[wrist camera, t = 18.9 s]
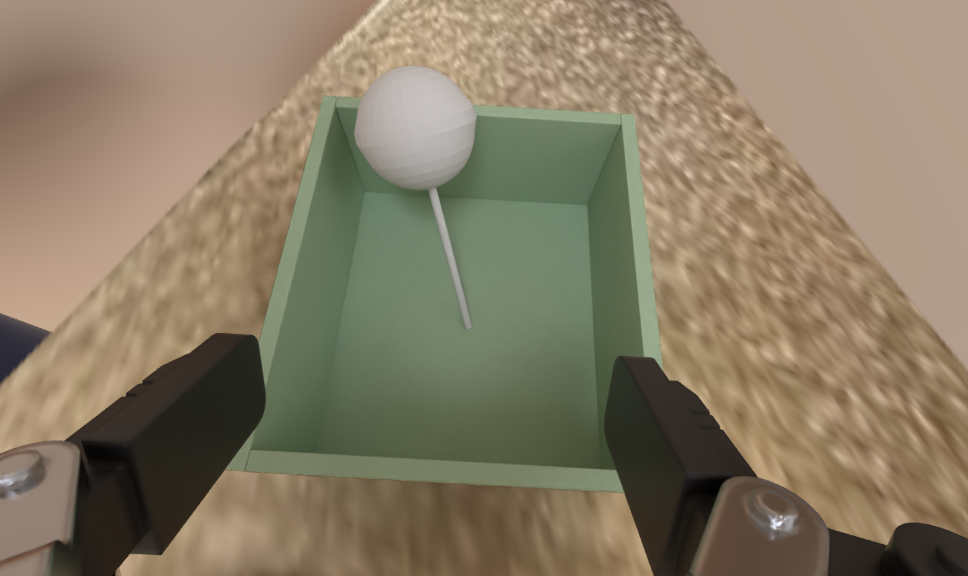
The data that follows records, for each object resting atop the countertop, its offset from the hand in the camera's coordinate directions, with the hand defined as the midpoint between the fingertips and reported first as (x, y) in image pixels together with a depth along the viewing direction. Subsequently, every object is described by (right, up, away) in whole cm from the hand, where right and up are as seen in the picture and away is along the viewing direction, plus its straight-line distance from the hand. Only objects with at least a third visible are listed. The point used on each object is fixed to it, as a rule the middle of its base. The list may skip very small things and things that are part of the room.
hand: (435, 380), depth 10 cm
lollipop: (0, -1, +18) cm, 18 cm away
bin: (0, 0, +19) cm, 19 cm away
